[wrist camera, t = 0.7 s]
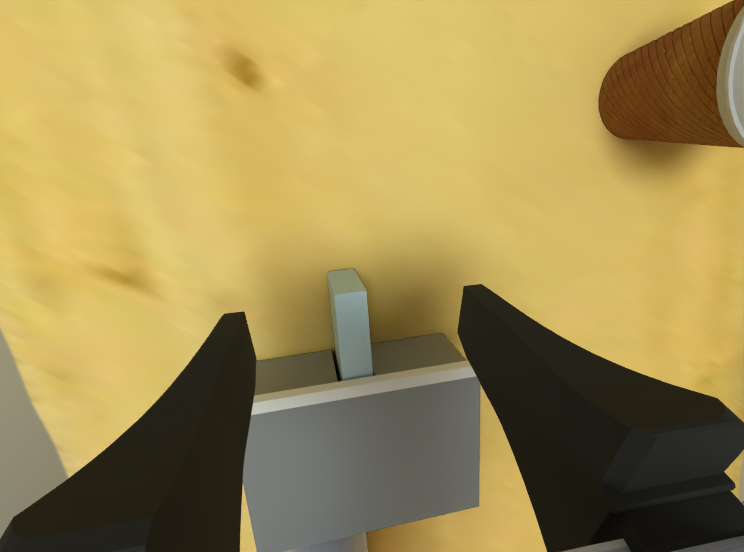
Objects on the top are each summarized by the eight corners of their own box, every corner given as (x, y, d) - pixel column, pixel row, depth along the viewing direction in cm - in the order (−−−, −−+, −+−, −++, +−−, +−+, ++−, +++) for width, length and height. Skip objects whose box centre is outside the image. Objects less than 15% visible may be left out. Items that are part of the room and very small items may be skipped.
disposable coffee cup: (626, -2, 28) (851, -116, 17) (709, 70, 31) (951, 14, 19) (556, 122, 30) (720, 96, 18) (641, 181, 32) (830, 189, 21)
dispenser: (446, 442, 36) (481, 505, 29) (262, 479, 33) (255, 557, 26) (444, 323, 32) (483, 364, 26) (239, 353, 30) (224, 407, 23)
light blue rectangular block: (367, 426, 33) (380, 475, 28) (344, 431, 33) (353, 480, 28) (353, 268, 29) (366, 290, 24) (326, 271, 29) (334, 295, 24)
